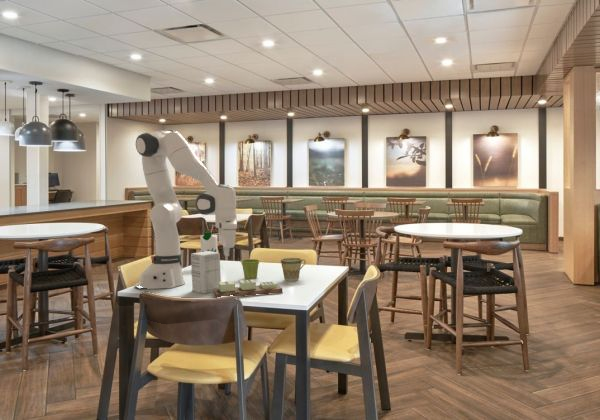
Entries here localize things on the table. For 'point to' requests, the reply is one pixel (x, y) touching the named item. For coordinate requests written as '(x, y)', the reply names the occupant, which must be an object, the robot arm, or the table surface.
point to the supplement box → (205, 271)
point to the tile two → (247, 284)
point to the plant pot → (250, 268)
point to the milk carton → (209, 242)
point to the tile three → (268, 285)
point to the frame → (247, 291)
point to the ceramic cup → (291, 268)
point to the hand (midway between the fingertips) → (226, 255)
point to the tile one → (226, 286)
